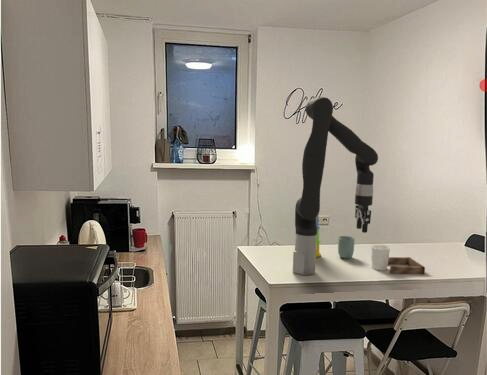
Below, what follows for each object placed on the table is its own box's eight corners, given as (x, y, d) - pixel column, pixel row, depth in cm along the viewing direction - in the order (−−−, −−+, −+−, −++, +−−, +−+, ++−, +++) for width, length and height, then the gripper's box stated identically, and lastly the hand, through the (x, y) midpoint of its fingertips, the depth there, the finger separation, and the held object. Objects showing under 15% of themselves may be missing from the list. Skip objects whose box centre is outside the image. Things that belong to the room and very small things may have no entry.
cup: (352, 255, 212) (353, 236, 211) (354, 260, 204) (355, 240, 203) (336, 254, 213) (337, 235, 212) (338, 259, 205) (339, 239, 204)
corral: (391, 273, 186) (391, 267, 186) (378, 263, 201) (378, 257, 200) (424, 273, 187) (424, 267, 186) (409, 263, 202) (409, 257, 201)
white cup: (376, 271, 188) (378, 249, 187) (366, 266, 196) (368, 245, 195) (391, 270, 191) (393, 249, 189) (381, 265, 198) (383, 244, 197)
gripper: (378, 196, 181) (375, 234, 183) (366, 192, 196) (364, 227, 198) (361, 196, 181) (358, 234, 183) (350, 191, 195) (348, 226, 197)
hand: (361, 230), depth 190 cm, fingers open, 7 cm apart
